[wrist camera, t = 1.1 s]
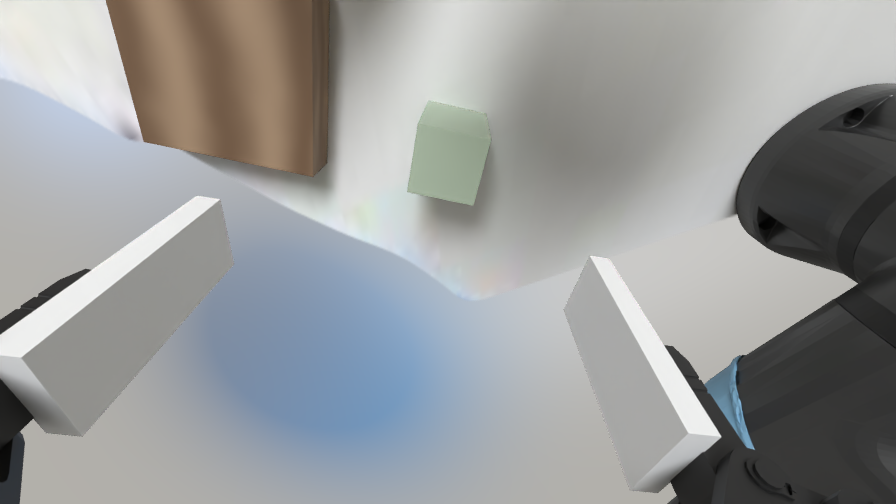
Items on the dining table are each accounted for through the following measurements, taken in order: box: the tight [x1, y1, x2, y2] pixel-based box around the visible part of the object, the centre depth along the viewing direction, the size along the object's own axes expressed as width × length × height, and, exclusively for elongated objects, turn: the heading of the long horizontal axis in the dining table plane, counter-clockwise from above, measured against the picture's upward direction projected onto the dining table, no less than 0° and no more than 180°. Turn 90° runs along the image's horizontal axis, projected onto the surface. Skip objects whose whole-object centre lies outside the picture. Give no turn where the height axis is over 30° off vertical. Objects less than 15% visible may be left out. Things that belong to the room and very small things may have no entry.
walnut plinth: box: [106, 0, 329, 177], centre depth 28 cm, size 14×14×4 cm
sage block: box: [407, 101, 491, 206], centre depth 28 cm, size 5×5×8 cm
